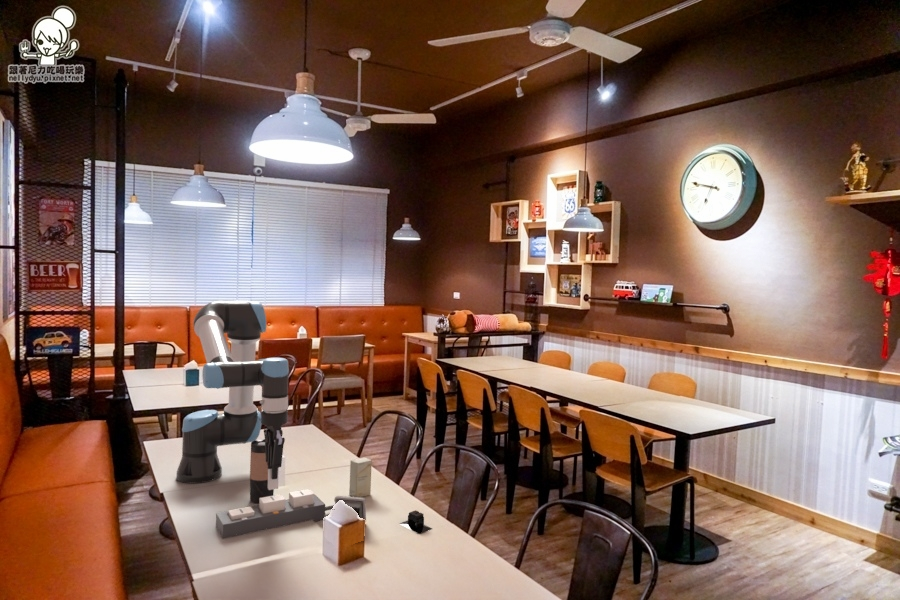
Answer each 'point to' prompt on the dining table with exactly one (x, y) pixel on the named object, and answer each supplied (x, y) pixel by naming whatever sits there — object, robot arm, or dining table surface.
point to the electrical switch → (354, 504)
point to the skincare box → (360, 477)
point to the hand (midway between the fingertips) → (272, 488)
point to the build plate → (416, 522)
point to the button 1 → (240, 513)
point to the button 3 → (301, 498)
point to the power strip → (270, 518)
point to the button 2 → (271, 503)
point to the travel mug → (258, 472)
